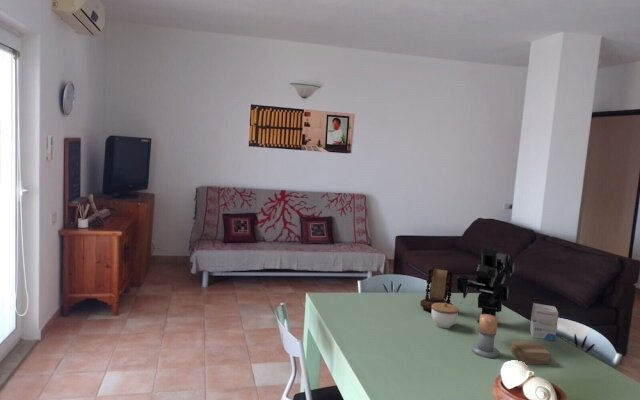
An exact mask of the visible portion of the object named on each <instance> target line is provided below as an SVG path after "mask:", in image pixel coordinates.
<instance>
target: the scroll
mask: <svg viewBox="0 0 640 400" xmlns="http://www.w3.org/2000/svg"><path fill="white" fill-rule="evenodd" d="M453 276H454V272H452V271H450V267H447V270H446V269H445V270H444V269H438V268H435V264H433V265H432V266H431V268H428V269H427V278H426V289H425V294H426V295H425V296H424V297H425V298H423V299H421V300H420V307H422V310H423V311H426V310H428V311H432V304H434V303H447V304H451V305H454V304H452V303H451V296H452V288H453ZM447 281H448V282H447ZM446 286H447V287H446Z"/></svg>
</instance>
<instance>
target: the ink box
mask: <svg viewBox="0 0 640 400" xmlns="http://www.w3.org/2000/svg"><path fill="white" fill-rule="evenodd" d="M558 323H559V312H558V309H557V308H556V306H554V305H546V304H542V303H536V302H533V304H532V310H531V317H530V326H529V331H530V334H531V337H532V338H534V339H535V338H537V339H542V340H548V341H554V342H556V338H557V330H558V329H557V328H558Z"/></svg>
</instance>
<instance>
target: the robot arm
mask: <svg viewBox="0 0 640 400" xmlns="http://www.w3.org/2000/svg"><path fill="white" fill-rule="evenodd" d="M514 272H515V261H513V260H512V258H511V256H510V254H509V253H505V252H498V251H497V250H496V249H495V248H494V247H488V248H484V249H482V250H481V264H478V265H477V267H476V271H475V273H476V276H475V277H474V278H475V281H474V280H470V277H469V276H465V275H459V276H457V279H456V280H457V283H456V285H457V290H458V291H459V292H461V293H462V298H463V299H465V298H467V295H468V293H469V289H470V288H473V289H476V291H478V292H480V293H479V294H478V295H477V296H478V297H477V309H481V314H489V315H493V316H496V315H497V313H502V309H503V303H502V301H504V302H506V301H508V298H509V290H510V288H509V286H508V285H507V284H505V283H504V282H505V280H506V279H509V278H511V277H512V275H513V274H515V273H514ZM481 314H480V315H481ZM496 317H497V316H496ZM479 321H480V319H478V320H477V321H476V322H477V323H479Z"/></svg>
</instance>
